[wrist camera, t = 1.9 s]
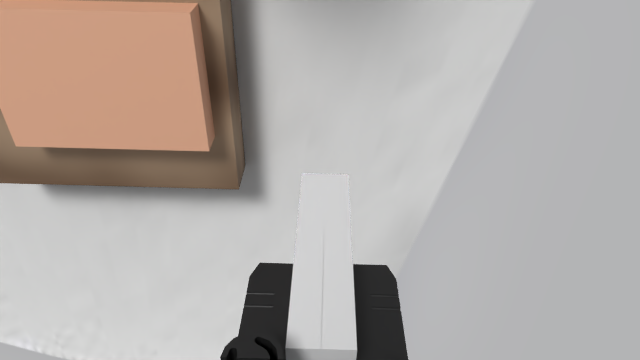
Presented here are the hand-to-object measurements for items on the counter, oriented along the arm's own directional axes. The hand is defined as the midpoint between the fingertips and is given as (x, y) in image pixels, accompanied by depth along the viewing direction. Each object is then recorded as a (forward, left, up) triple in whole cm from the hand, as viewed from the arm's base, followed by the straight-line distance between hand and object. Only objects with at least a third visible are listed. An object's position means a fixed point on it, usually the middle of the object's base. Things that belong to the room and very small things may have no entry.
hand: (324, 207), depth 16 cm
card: (0, -11, -10) cm, 15 cm away
